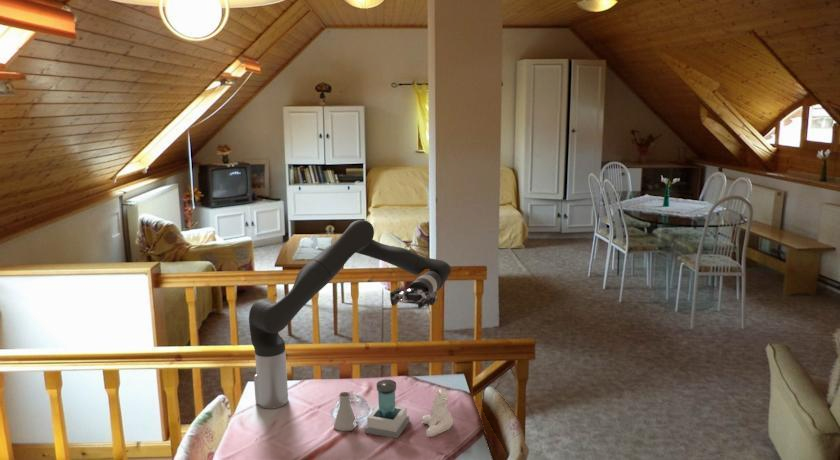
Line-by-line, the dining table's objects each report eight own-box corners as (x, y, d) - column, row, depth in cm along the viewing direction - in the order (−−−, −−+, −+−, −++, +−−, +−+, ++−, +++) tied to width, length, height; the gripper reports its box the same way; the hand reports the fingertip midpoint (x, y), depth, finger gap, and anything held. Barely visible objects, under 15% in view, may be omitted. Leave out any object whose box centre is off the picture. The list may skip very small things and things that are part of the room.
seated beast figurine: (420, 421, 187) (420, 383, 184) (449, 418, 188) (449, 380, 186) (427, 437, 178) (427, 398, 175) (456, 434, 179) (457, 395, 177)
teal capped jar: (374, 425, 182) (373, 386, 179) (381, 415, 187) (380, 378, 184) (392, 428, 180) (392, 389, 177) (399, 418, 185) (398, 380, 183)
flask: (353, 433, 181) (352, 401, 178) (329, 430, 182) (328, 398, 180) (361, 420, 187) (360, 389, 185) (337, 418, 189) (336, 387, 187)
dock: (364, 432, 181) (364, 418, 180) (378, 415, 190) (377, 402, 189) (397, 438, 177) (397, 423, 176) (409, 421, 187) (409, 407, 186)
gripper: (402, 275, 209) (384, 290, 194) (443, 279, 204) (427, 294, 189) (402, 297, 211) (384, 313, 196) (443, 301, 206) (428, 318, 191)
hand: (406, 304), depth 193 cm, fingers open, 8 cm apart
